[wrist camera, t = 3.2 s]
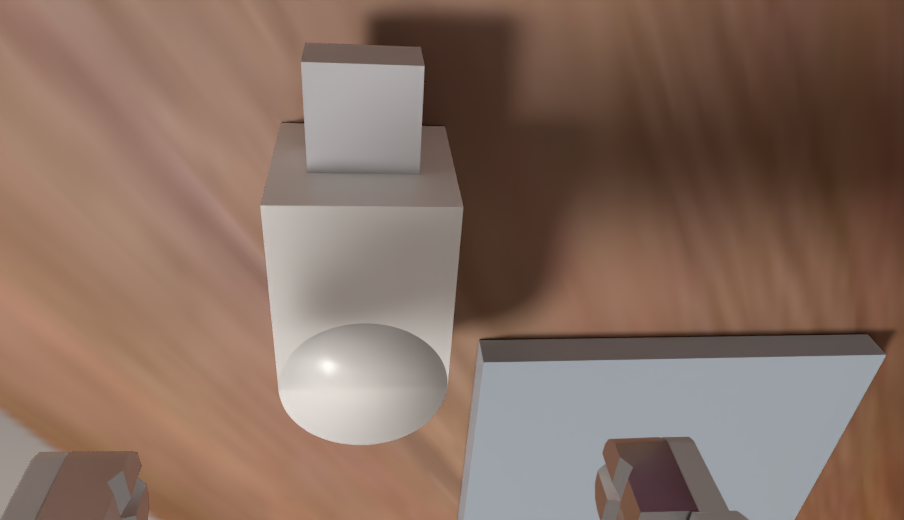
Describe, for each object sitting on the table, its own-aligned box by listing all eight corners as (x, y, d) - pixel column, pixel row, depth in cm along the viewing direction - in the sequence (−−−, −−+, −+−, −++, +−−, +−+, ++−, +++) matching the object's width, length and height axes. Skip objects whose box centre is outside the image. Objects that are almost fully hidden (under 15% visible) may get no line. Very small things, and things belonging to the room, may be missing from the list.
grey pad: (478, 340, 21) (483, 362, 21) (867, 334, 23) (886, 354, 22) (450, 580, 29) (453, 603, 28) (747, 563, 30) (758, 584, 30)
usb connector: (273, 22, 16) (248, 87, 12) (451, 29, 16) (473, 93, 13) (297, 342, 21) (284, 447, 18) (430, 340, 21) (442, 442, 18)
